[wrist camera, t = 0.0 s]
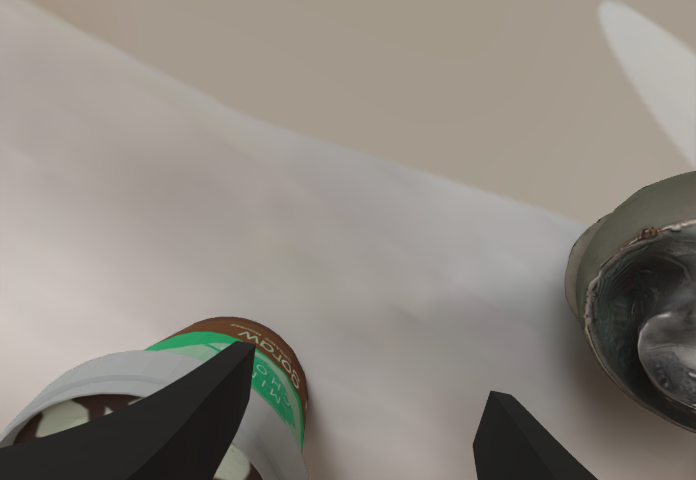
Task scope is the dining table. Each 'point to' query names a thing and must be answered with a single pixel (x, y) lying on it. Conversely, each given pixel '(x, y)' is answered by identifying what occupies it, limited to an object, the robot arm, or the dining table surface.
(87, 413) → the food container
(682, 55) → the dining table surface
